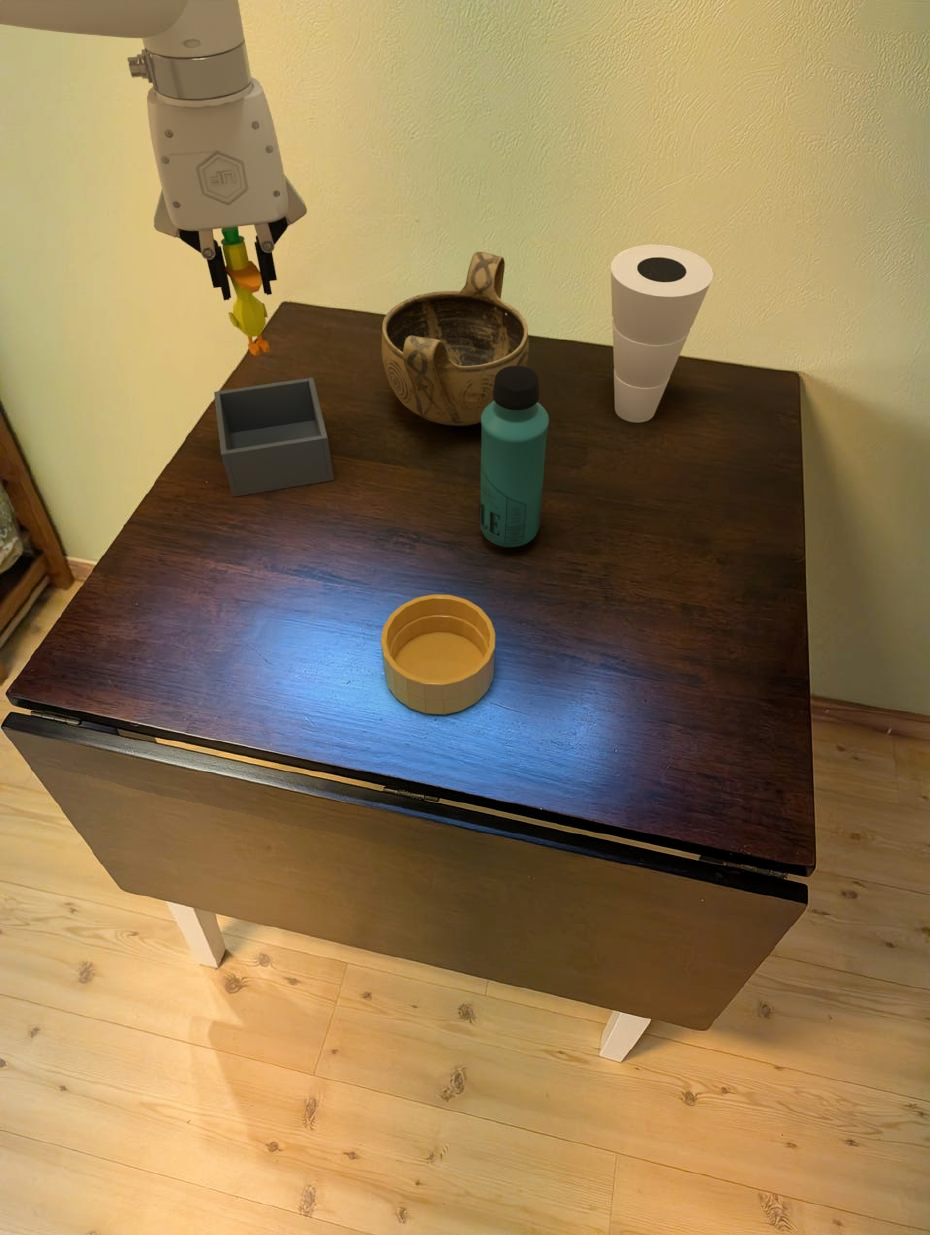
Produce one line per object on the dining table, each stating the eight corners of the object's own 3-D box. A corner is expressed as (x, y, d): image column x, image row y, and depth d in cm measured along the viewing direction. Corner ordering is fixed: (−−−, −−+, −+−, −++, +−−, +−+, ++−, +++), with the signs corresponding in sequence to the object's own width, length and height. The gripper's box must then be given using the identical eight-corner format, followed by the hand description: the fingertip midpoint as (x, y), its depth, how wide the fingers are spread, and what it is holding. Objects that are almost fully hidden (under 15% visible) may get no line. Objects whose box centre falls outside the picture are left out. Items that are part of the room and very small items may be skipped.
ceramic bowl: (488, 481, 94) (491, 365, 83) (352, 445, 98) (337, 329, 87) (549, 371, 108) (560, 258, 96) (427, 343, 111) (423, 232, 100)
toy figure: (289, 360, 83) (267, 242, 74) (256, 372, 82) (229, 253, 73) (261, 328, 87) (236, 212, 78) (229, 339, 86) (199, 222, 77)
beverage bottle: (550, 530, 90) (568, 368, 74) (519, 569, 86) (531, 407, 70) (497, 507, 92) (505, 345, 76) (465, 544, 88) (465, 382, 73)
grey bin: (233, 497, 93) (221, 454, 88) (225, 434, 100) (213, 391, 95) (334, 480, 94) (327, 437, 90) (320, 419, 101) (313, 377, 97)
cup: (619, 447, 98) (645, 305, 84) (575, 396, 104) (592, 256, 90) (696, 424, 101) (733, 283, 87) (648, 375, 107) (676, 236, 93)
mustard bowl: (397, 726, 74) (393, 694, 70) (376, 639, 80) (371, 605, 76) (506, 703, 76) (508, 670, 72) (477, 619, 82) (478, 585, 78)
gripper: (89, 96, 62) (158, 323, 76) (312, 77, 64) (339, 299, 79) (91, 61, 66) (156, 281, 81) (300, 44, 69) (327, 260, 83)
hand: (246, 288), depth 80 cm, fingers closed on toy figure, 3 cm apart
